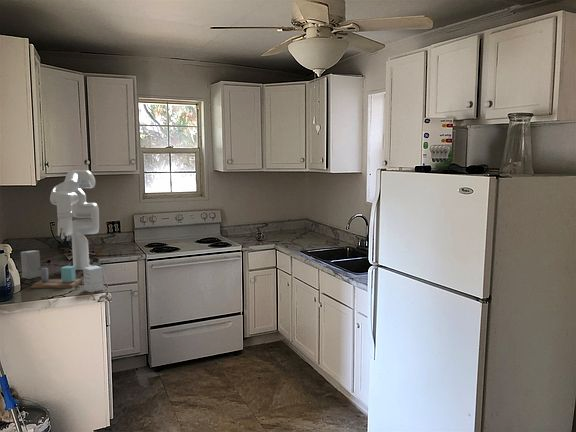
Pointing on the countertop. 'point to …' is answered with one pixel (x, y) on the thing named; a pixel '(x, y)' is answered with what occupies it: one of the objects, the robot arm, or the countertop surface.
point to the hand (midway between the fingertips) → (66, 247)
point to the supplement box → (93, 278)
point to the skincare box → (30, 264)
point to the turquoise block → (68, 273)
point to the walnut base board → (56, 284)
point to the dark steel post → (44, 275)
